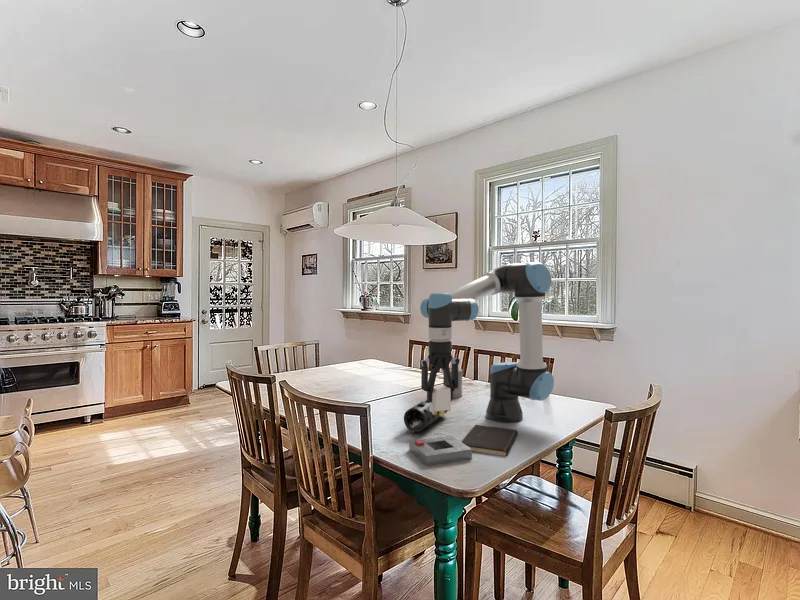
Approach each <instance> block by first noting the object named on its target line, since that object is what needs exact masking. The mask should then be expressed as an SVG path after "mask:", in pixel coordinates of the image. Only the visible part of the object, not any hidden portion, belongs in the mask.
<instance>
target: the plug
mask: <svg viewBox="0 0 800 600" xmlns="http://www.w3.org/2000/svg"><path fill="white" fill-rule="evenodd" d="M433 392H434V393H435V413H432V414H433V415H437V411H439V416H441V417H445V414H446V413H445V410H450V388H449V387H446V386H444V385H443V384H441V385H434V388H433Z"/></svg>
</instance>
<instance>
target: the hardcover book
mask: <svg viewBox="0 0 800 600" xmlns="http://www.w3.org/2000/svg"><path fill="white" fill-rule="evenodd" d="M517 437H518V430H517V429H513V428H506V427H498V426H497V427H496V426H487V425H480V424H475V425H474V426H473V427H472V429H470V430H469V432H468V433H467V434H466V436H464V438H463V439H462V440H461V442H462V443H464V444H465V445H467V446H468V447H470V448H471V449H472V452H479V453H482V454H483V453H485V454H490V455H497V456H503V457H507V456H508V455H509V452H510V451H511V449H512V446H513V445H514V443H515V441H516V438H517Z"/></svg>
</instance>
